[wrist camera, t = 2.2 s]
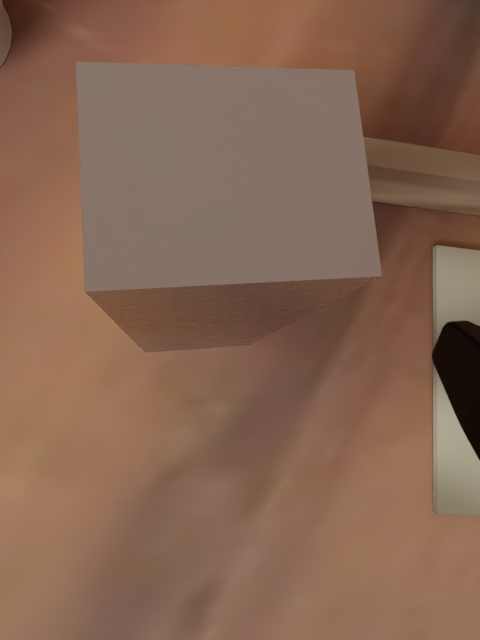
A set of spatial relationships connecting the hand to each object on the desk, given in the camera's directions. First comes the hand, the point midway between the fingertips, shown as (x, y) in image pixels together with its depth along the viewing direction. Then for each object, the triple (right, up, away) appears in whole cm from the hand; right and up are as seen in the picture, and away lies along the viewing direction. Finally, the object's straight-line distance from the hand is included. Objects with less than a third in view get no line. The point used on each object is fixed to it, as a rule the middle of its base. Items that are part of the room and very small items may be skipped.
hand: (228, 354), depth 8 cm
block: (-2, +3, +10) cm, 11 cm away
